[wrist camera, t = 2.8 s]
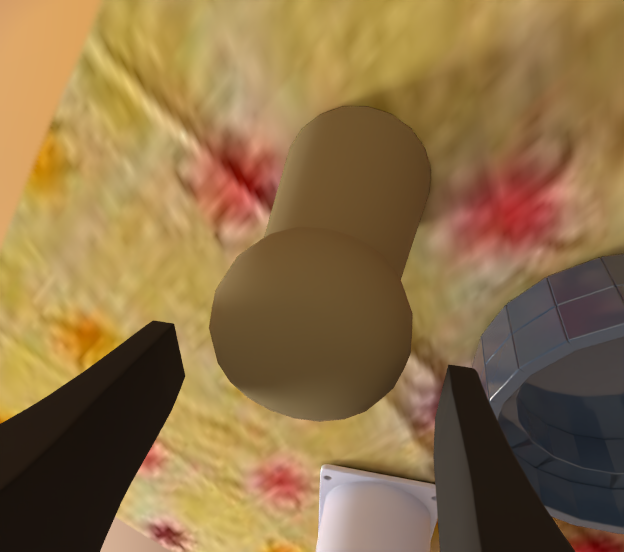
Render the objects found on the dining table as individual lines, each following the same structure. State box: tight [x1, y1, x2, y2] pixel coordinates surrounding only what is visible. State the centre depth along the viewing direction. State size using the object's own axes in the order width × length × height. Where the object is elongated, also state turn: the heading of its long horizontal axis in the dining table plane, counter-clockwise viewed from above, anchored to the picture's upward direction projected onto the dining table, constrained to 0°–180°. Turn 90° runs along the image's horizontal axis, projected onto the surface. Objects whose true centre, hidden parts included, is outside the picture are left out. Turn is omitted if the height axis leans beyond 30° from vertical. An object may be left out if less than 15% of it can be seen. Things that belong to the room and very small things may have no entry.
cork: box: [209, 106, 431, 421], centre depth 15 cm, size 6×6×11 cm
